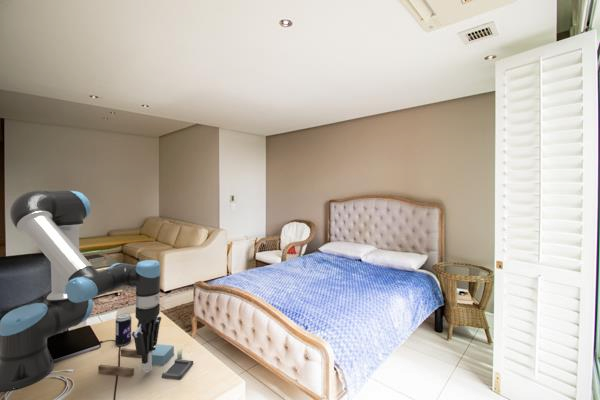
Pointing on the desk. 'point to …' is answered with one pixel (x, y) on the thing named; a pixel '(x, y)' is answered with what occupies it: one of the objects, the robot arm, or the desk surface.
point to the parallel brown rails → (120, 370)
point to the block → (162, 354)
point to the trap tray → (178, 369)
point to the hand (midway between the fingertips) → (146, 369)
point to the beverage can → (123, 329)
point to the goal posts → (179, 354)
